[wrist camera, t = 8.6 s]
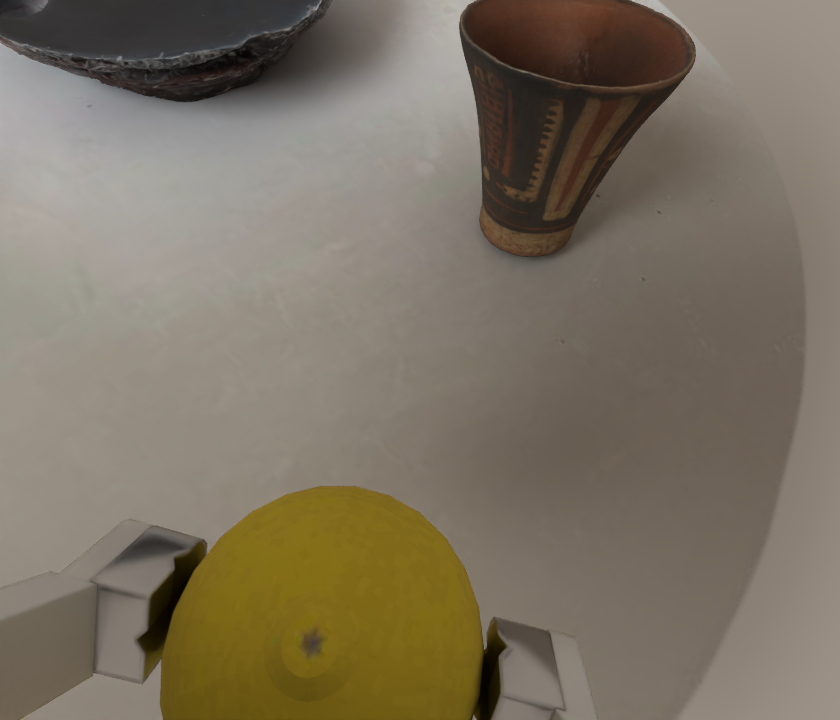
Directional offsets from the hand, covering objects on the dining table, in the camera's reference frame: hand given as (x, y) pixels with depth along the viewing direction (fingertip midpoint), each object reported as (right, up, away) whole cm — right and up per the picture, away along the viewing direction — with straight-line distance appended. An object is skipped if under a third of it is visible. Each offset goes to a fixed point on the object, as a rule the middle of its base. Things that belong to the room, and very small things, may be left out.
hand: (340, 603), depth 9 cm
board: (-14, +26, +23) cm, 37 cm away
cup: (+7, +12, +18) cm, 23 cm away
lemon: (0, -3, +4) cm, 5 cm away
